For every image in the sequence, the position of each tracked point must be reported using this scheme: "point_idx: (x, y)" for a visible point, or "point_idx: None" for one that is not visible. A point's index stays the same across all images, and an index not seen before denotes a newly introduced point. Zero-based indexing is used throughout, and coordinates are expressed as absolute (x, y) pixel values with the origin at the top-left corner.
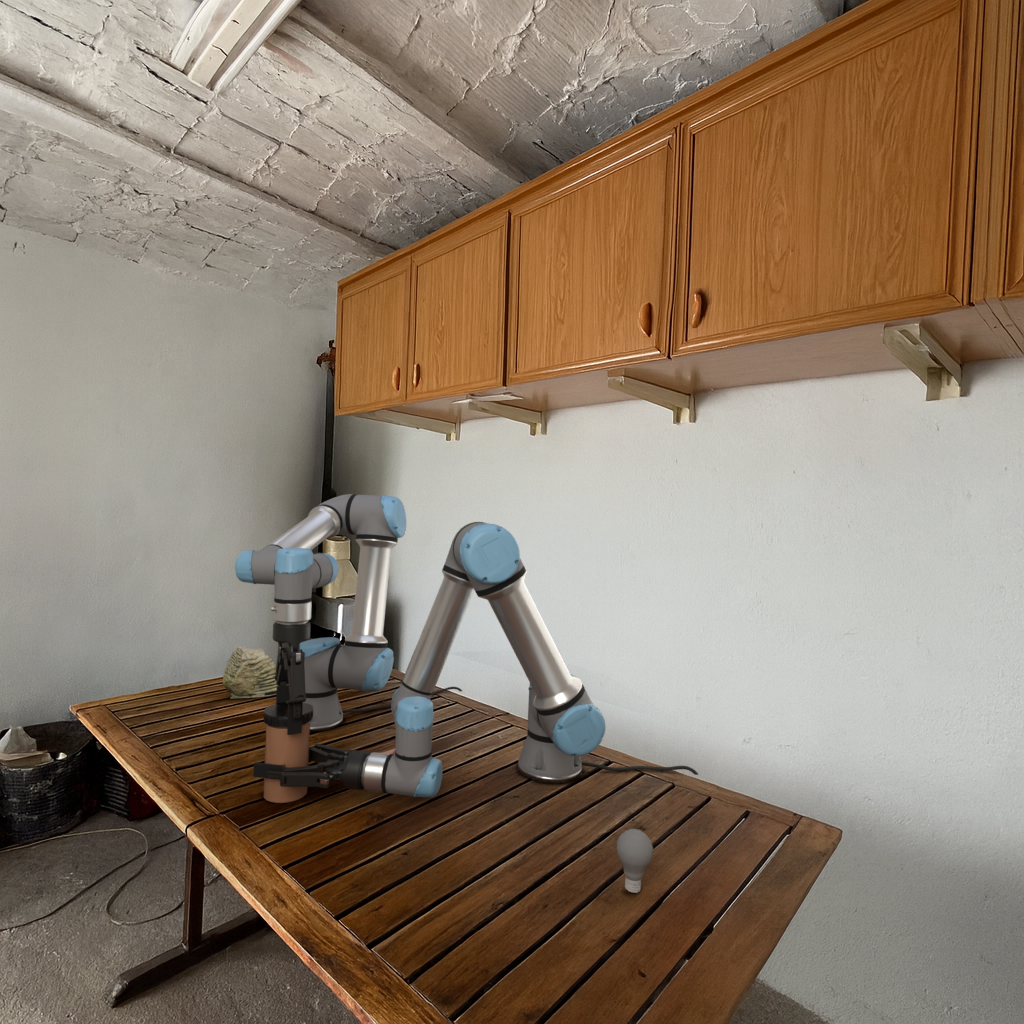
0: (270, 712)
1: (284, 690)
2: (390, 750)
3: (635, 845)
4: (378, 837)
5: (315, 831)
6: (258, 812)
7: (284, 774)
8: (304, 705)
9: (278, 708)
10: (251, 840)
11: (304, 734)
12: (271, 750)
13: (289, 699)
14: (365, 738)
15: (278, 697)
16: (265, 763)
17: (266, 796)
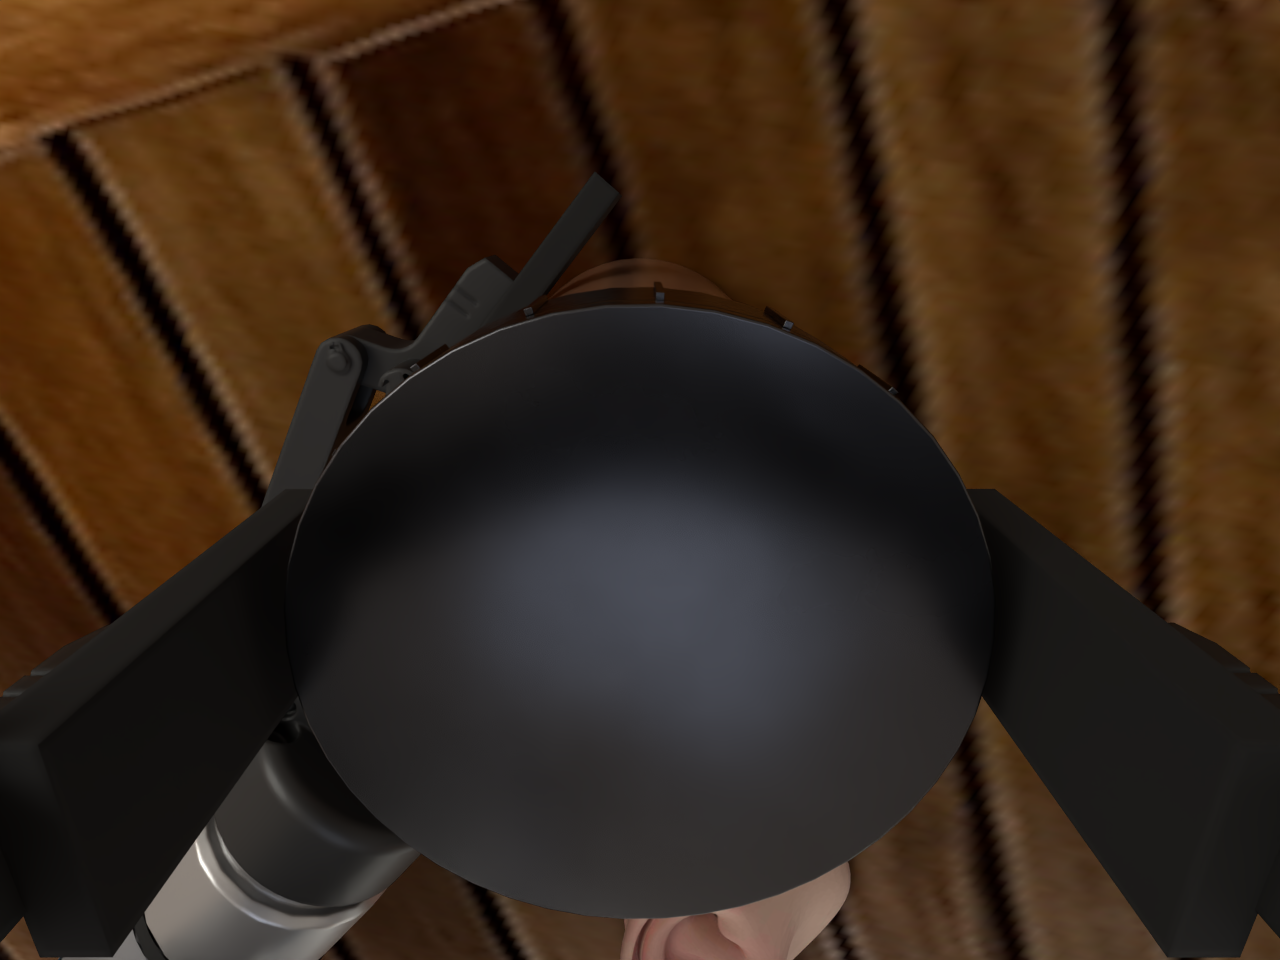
0: (589, 395)
1: (1143, 805)
2: (758, 942)
3: None
4: (45, 646)
5: (164, 425)
6: (464, 196)
7: (316, 361)
8: (705, 854)
9: (735, 542)
10: (149, 101)
11: None
12: None
13: (1023, 752)
14: (1095, 880)
15: (1092, 638)
16: (561, 265)
17: (596, 267)
